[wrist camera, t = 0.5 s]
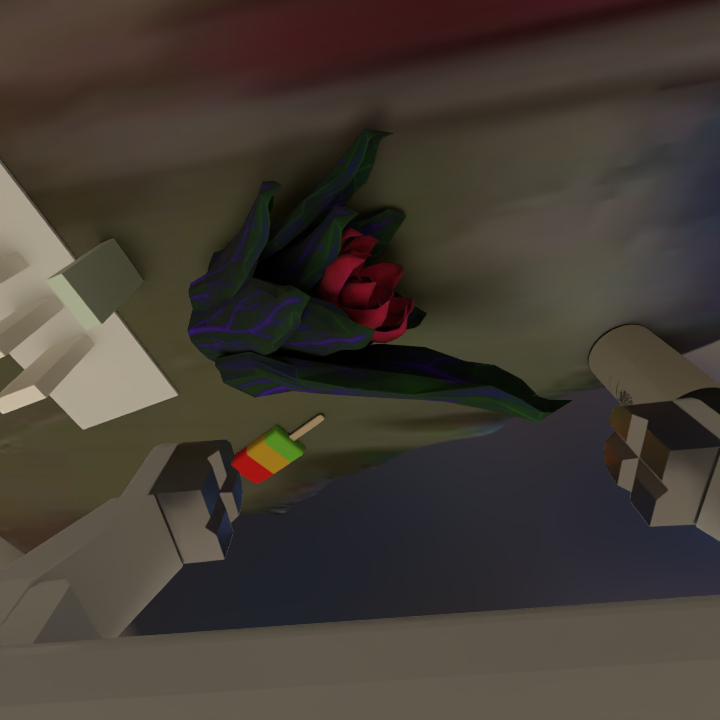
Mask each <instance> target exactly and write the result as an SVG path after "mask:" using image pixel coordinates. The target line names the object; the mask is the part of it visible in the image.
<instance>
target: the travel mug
mask: <svg viewBox="0 0 720 720" xmlns="http://www.w3.org/2000/svg"><path fill="white" fill-rule="evenodd" d="M589 367H590V369H591V371H592V373H593V374H594V375H595V376H596V377H597V378H598V379H599V380H600V381H601V382H602V384H603V385H604V386H605V387H606V388H607V389H608V390H609V391H610V392H611V393H612V394H613V396H615V398H616V399H617V400H618V401H619V402H620V403H621V404H622V405H633V404H643V403H653V402H663V401H667V400H675V399H684V398H694V399H698V400H701V401H702V402H703V403H705V404H706V405H707V406H709V407H710V408H711V409H713V410H714V411H715V412H717V413H718V414H720V384H719V383H717V382H716V381H715V380H713V379H712V378H711V377H709V376H708V375H707V374H706V373H704V372H703V371H702V370H700V369H699V368H698V367H696V366H695V365H694V364H692V363H691V362H690V361H689V360H687V359H686V358H685V357H683V356H682V355H681V354H679V353H678V352H677V351H675V350H674V349H673V348H672V347H670V346H669V345H668V344H666V343H665V342H664V341H662V340H661V339H660V338H659V337H657V336H656V335H655V334H653V333H652V332H651V331H649V330H648V329H647V328H645V327H643V326H639V325H625V326H621V327H618V328H616V329H614V330H612V331H610V332H608V333H607V334H605V335H604V336H603V337H602V338H600V339H599V340H598V342H597V343H596V344H595V345H594V347H593V349H592V350H591V353H590V356H589Z"/></svg>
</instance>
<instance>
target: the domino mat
mask: <svg viewBox="0 0 720 720" xmlns="http://www.w3.org/2000/svg"><path fill="white" fill-rule="evenodd" d="M17 252H19V254H20V255H21V256H22V257H23V258H24V260H25V261H26V262H27V263H28V264H29V267H28V268H26V269H24V270H23V271H21V272H19V273H17V274H16V275H14V276H12V277H11V278H9V279H7V280H6V281H4V282H2V283H0V321H2V320H3V319H4V318H6V317H7V316H9V315H10V314H12V313H13V312H14V311H16V310H19V309H21V308H23V307H26V306H28V305H31V304H33V303H35V302H38V301H40V300H43V299H45V298H47V297H50V296H52V295H54V296H55V297H56V298H57V299H58V300H59V302H60V303H61V304H62V305H63V306H64V308H63V309H62V310H61V311H60V312H58V313H57V314H56V315H55V316H53V317H52V318H51V319H50V320H49V321H47V322H46V323H45V324H44V325H42V326H41V327H40V328H39V329H38V330H36V331H35V332H34V333H33V334H31V335H30V336H29V337H28V338H27V339H25V340H24V341H23V342H22V343H21V344H19V345H18V346H17V347H16V348H14V349H13V350H12V351H11V352H10V353H9V354H10V355H11V356H12V357H13V358H14V359H15V360H16V361H17V362H18V363H19V364H20V365H21V366H22V367H23V368H24V369H26V368H27V367H28V366H30V365H31V364H32V363H33V362H34V361H35V360H36V359H37V358H38V357H39V356H40V355H42V354H43V353H44V352H45V351H46V350H47V349H48V348H50V347H52V346H55V345H57V344H60V343H62V342H65V341H67V340H70V339H72V338H75V337H77V336H80V335H82V334H85V333H86V334H87V335H88V337H89V338H90V339H91V340H92V341H93V343H94V344H95V345H94V347H93V348H92V349H91V350H90V351H89V352H88V353H87V354H86V355H85V356H84V357H83V358H82V360H81V361H80V362H79V363H78V364H77V365H76V366H75V367H74V368H73V369H72V370H71V371H70V373H69V374H68V375H67V376H66V377H65V378H64V379H63V380H62V381H61V382H60V383H59V384H58V386H57V387H56V388H55V389H54V390H53V391H52V392H51V393H50V394H49V395H50V396H51V397H52V398H53V399H54V400H55V401H56V402H57V403H58V404H59V405H60V406H61V408H62V409H63V410H64V411H65V412H66V413H67V414H68V415H69V416H70V417H71V418H72V419H73V420H74V421H75V422H76V423H77V424H78V425H79V426H80V427H81V428H82V429H86V428H89V427H92V426H95V425H97V424H100V423H103V422H106V421H108V420H111V419H114V418H117V417H120V416H122V415H125V414H128V413H131V412H133V411H136V410H139V409H142V408H144V407H147V406H150V405H153V404H156V403H158V402H161V401H164V400H167V399H169V398H172V397H175V396H178V395H179V393H178V391H177V390H176V389H175V387H174V386H173V385H172V383H171V382H170V381H169V379H168V378H167V377H166V375H165V374H164V373H163V372H162V370H161V369H160V368H159V366H158V365H157V364H156V362H155V361H154V360H153V358H152V357H151V356H150V355H149V353H148V352H147V351H146V349H145V348H144V347H143V345H142V344H141V343H140V341H139V340H138V339H137V337H136V336H135V335H134V334H133V332H132V331H131V330H130V328H129V327H128V326H127V324H126V323H125V322H124V320H123V319H122V318H121V317H120V315H119V314H118V313H117V311H115V312H114V313H113V314H112V315H111V316H110V317H109V318H108V319H107V320H106V321H105V322H104V323H103V324H102V325H99V326H97V327H94V328H92V329H89V330H87V331H86V329H85V328H84V327H83V326H82V325H81V323H80V322H79V321H78V320H77V319H76V317H75V316H74V315H73V314H72V313H71V311H70V310H69V309H68V308H67V307H66V305H65V304H64V303H63V302H62V300H61V299H60V298H59V297H58V296H57V294H56V293H55V292H54V291H53V290H52V288H51V287H50V286H49V285H48V284H47V282H46V281H45V280H47V279H48V278H50V277H51V276H53V275H54V274H56V273H57V272H59V271H60V270H62V269H63V268H65V267H66V266H68V265H69V264H71V263H72V262H74V261H75V260H77V259H76V258H75V256H74V255H73V254H72V252H71V251H70V250H69V248H68V247H67V246H66V244H65V243H64V242H63V241H62V239H61V238H60V237H59V235H58V234H57V233H56V231H55V230H54V229H53V227H52V226H51V225H50V223H49V222H48V221H47V220H46V218H45V217H44V216H43V214H42V213H41V212H40V210H39V209H38V208H37V206H36V205H35V204H34V203H33V201H32V200H31V199H30V197H29V196H28V195H27V193H26V192H25V191H24V189H23V188H22V187H21V185H20V184H19V183H18V182H17V180H16V179H15V178H14V176H13V175H12V174H11V172H10V171H9V170H8V168H7V167H6V166H5V165H4V163H3V162H2V161H1V159H0V260H1V259H3V258H5V257H8V256H10V255H12V254H14V253H17Z"/></svg>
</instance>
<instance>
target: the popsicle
mask: <svg viewBox="0 0 720 720" xmlns="http://www.w3.org/2000/svg"><path fill="white" fill-rule="evenodd" d="M323 420H324V416H323V415H321V414H319V415H318V416H316V417H315V418H313V419H312V420H310V421H309V422H308V423H306V424H305V425H303V426H302V427H300V428H299V429H298V430H296V431H295V432H293V433H292V434H291V435H289V434H288V433H287V432H286V431H284V430H283V429H282V428H281V427H279V426H278V425H276V426H275V427H273V428H272V429H270V430H269V431H268V432H266V433H265V434H263V435H262V436H261V437H259V438H258V439H256V440H255V441H254V442H252V443H251V444H250V445H248V446H247V447H245V448H244V449H243V450H241V451H240V452H238V453H237V454H236V455H235V456H234V458H233V461H232V466H233V467H234V468H235V469H237V470H238V471H239V472H240V474H241V475H243V476H244V477H246V478H247V479H249V480H250V481H252V482H255V483H260V482H262V481H264V480H266V479H267V478H269V477H270V476H272V475H273V474H275V473H276V472H278V471H279V470H281V469H282V468H284V467H285V466H286V465H288V464H289V463H291V462H292V461H294V460H295V459H297V458H298V457H300V456H301V455H303V453H304V446H303V445H302V444H301V443H299V442H298V441H297V440H296V439H297V438H299V437H300V436H302V435H303V434H305V433H306V432H307V431H309V430H310V429H312V428H313V427H315V426H316V425H317V424H319V423H320V422H322V421H323Z"/></svg>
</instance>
